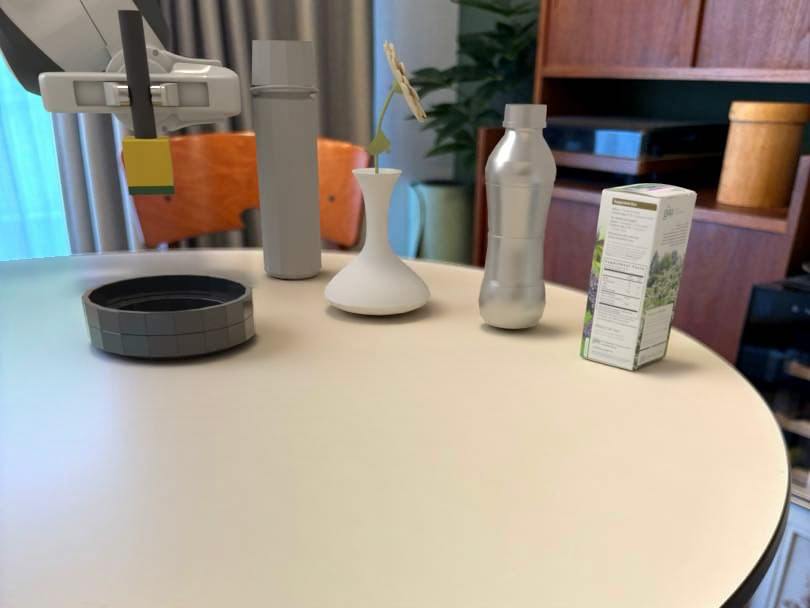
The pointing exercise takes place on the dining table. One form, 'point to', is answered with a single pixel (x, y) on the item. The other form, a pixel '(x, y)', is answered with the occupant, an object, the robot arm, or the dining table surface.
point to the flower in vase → (380, 231)
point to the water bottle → (287, 156)
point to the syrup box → (636, 273)
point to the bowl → (169, 315)
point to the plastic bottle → (517, 220)
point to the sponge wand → (142, 117)
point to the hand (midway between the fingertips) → (140, 95)
